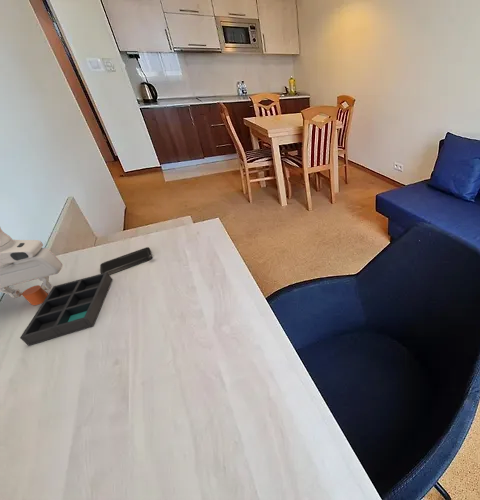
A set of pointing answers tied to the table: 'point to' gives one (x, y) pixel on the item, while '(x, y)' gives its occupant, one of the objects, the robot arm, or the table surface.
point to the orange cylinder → (35, 295)
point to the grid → (68, 309)
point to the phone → (126, 261)
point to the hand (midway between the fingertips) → (33, 292)
